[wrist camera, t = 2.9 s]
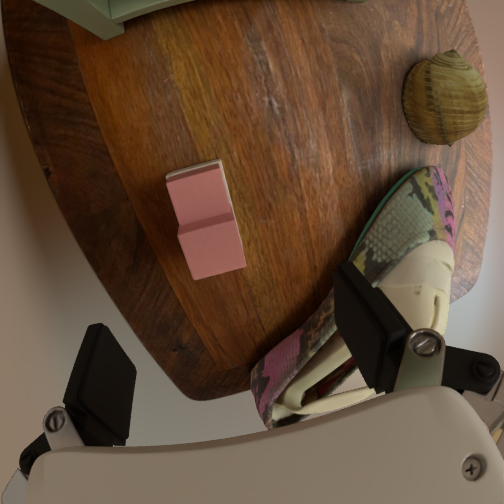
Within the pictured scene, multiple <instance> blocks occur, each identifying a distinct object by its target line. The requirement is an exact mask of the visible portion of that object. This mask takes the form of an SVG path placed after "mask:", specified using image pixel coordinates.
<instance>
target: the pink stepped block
mask: <svg viewBox="0 0 504 504" xmlns="http://www.w3.org/2000/svg"><path fill="white" fill-rule="evenodd" d="M166 179H167V182H166V186H167V189H168V192H169V195H170V198H171V201H172V204H173V207H174V210H175V213H176V216H177V219H178V222H179V228H178V234H177V237H178V240H179V242H180V245H181V248H182V251H183V253H184V256H185V259H186V261H187V264H188V267H189V269H190V272H191V274H192V277H193V279H194V280H198V279H202V278H206V277H210V276H214V275H217V274H221V273H225V272H229V271H232V270H236V269H240V268H244V267H247V263H246V259H245V256H244V252H243V248H242V247H243V245H242V242H241V238H240V234H239V230H238V226H237V222H236V218H235V214H234V210H233V206H232V202H231V198H230V194H229V190H228V186H227V182H226V178H225V174H224V170H223V166H222V162H221V159H215V160H212V161H208V162H204V163H201V164H197V165H193V166H190V167H186V168H183V169H180V170H176V171H173V172H170V173H167V175H166Z"/></svg>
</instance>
